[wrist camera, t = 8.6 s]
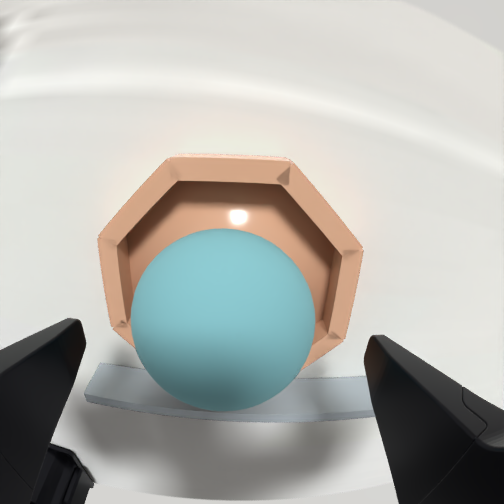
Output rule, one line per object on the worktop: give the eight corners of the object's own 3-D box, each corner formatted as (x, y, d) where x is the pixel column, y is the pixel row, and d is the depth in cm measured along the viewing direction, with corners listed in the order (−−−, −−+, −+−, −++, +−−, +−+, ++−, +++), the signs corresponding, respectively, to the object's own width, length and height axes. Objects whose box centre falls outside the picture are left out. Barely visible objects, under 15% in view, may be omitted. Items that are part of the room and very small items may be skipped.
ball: (162, 334, 14) (127, 436, 9) (152, 206, 12) (82, 270, 7) (292, 341, 14) (312, 447, 9) (308, 212, 12) (355, 282, 7)
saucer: (131, 358, 15) (122, 376, 14) (108, 155, 12) (91, 159, 10) (326, 368, 15) (331, 388, 14) (361, 164, 12) (375, 169, 10)
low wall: (102, 370, 16) (86, 401, 13) (100, 362, 15) (83, 393, 13) (418, 378, 16) (433, 407, 14) (421, 370, 16) (437, 399, 13)
